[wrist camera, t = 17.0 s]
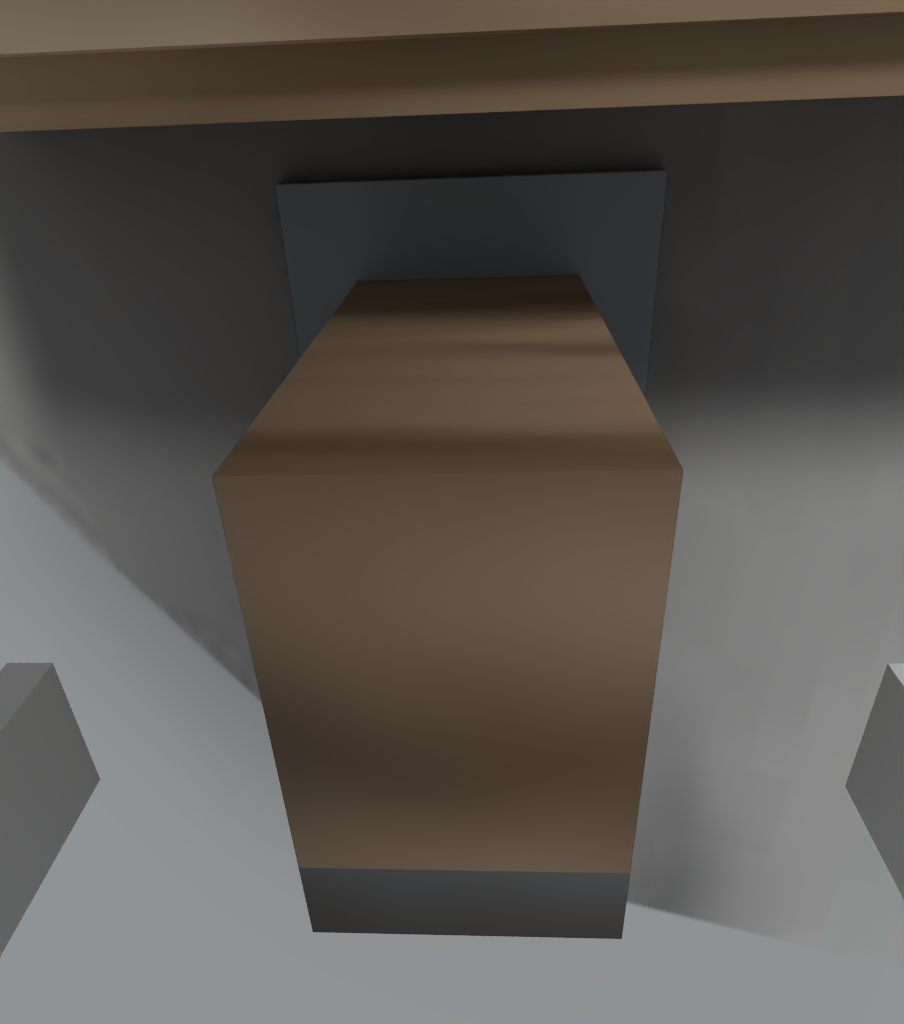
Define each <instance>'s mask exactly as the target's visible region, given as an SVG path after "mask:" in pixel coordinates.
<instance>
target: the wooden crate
mask: <svg viewBox="0 0 904 1024" xmlns="http://www.w3.org/2000/svg"><path fill="white" fill-rule="evenodd" d="M451 36H452V37H451ZM901 95H904V0H0V132H18V131H43V130H67V129H92V128H116V127H141V126H165V125H190V124H214V123H239V122H263V121H288V120H312V119H337V118H361V117H386V116H410V115H435V114H459V113H484V112H508V111H533V110H557V109H582V108H606V107H631V106H656V105H680V104H705V103H729V102H754V101H778V100H803V99H827V98H852V97H876V96H901Z"/></svg>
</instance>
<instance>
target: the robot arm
mask: <svg viewBox="0 0 904 1024" xmlns="http://www.w3.org/2000/svg"><path fill="white" fill-rule="evenodd" d="M99 780H100V778H99V775H98V773H97V770H96V768H95V766H94V763H93V761H92V759H91V756H90V753H89V751H88V748H87V746H86V744H85V741H84V739H83V736H82V734H81V731H80V729H79V726H78V724H77V722H76V719H75V717H74V714H73V712H72V709H71V707H70V704H69V702H68V700H67V697H66V695H65V692H64V690H63V687H62V685H61V683H60V680H59V678H58V675H57V673H56V670H55V668H54V666H53V663H7V664H6V665H5V666H4V667H3V669H2V670H1V671H0V956H1V954H2V952H3V951H4V949H5V947H6V945H7V943H8V942H9V940H10V938H11V936H12V935H13V933H14V931H15V929H16V927H17V926H18V924H19V922H20V920H21V919H22V917H23V915H24V913H25V912H26V910H27V908H28V906H29V905H30V903H31V901H32V899H33V897H34V896H35V894H36V892H37V890H38V888H39V887H40V885H41V883H42V881H43V880H44V878H45V876H46V874H47V873H48V871H49V869H50V867H51V866H52V864H53V862H54V860H55V858H56V857H57V855H58V853H59V851H60V850H61V848H62V846H63V844H64V842H65V841H66V839H67V837H68V835H69V834H70V832H71V830H72V828H73V826H74V825H75V823H76V821H77V819H78V817H79V816H80V814H81V812H82V811H83V809H84V807H85V805H86V803H87V802H88V800H89V798H90V796H91V794H92V793H93V791H94V789H95V787H96V786H97V784H98V782H99ZM846 788H847V790H848V792H849V794H850V796H851V798H852V800H853V802H854V804H855V806H856V808H857V810H858V812H859V814H860V815H861V817H862V819H863V821H864V823H865V825H866V827H867V829H868V831H869V833H870V835H871V837H872V839H873V841H874V842H875V844H876V846H877V848H878V850H879V852H880V854H881V856H882V858H883V860H884V862H885V864H886V866H887V868H888V870H889V871H890V873H891V875H892V877H893V879H894V881H895V883H896V885H897V887H898V889H899V891H900V893H901V895H902V897H903V899H904V664H887V667H886V670H885V673H884V676H883V679H882V682H881V685H880V688H879V690H878V693H877V696H876V699H875V702H874V705H873V708H872V711H871V714H870V716H869V719H868V722H867V725H866V728H865V731H864V734H863V737H862V740H861V742H860V745H859V748H858V751H857V754H856V757H855V760H854V763H853V766H852V768H851V771H850V774H849V777H848V780H847V783H846Z"/></svg>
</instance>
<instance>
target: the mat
mask: <svg viewBox="0 0 904 1024" xmlns="http://www.w3.org/2000/svg"><path fill="white" fill-rule="evenodd" d="M667 173H668V171H667V170H664V169H657V170H629V171H601V172H573V173H546V174H518V175H490V176H462V177H434V178H406V179H379V180H351V181H323V182H295V183H279V184H276V185H275V187H276V194H277V201H278V208H279V215H280V222H281V229H282V236H283V243H284V250H285V258H286V265H287V272H288V279H289V286H290V293H291V300H292V307H293V314H294V321H295V328H296V335H297V342H298V349H299V356H300V358H301V356H302V355H303V354H304V352H305V351H306V350H307V348H308V347H309V346H310V344H311V343H312V342H313V340H314V339H315V338H316V336H317V335H318V334H319V332H320V331H321V330H322V328H323V327H324V325H325V324H326V323H327V321H328V320H329V319H330V317H331V316H332V315H333V313H334V312H335V311H336V309H337V308H338V307H339V305H340V304H341V303H342V301H343V300H344V299H345V297H346V296H347V295H348V293H349V292H350V291H351V289H352V288H353V287H354V285H355V284H356V283H357V281H370V280H404V279H438V278H472V277H506V276H541V275H575V274H579V276H580V278H581V280H582V281H583V283H584V285H585V287H586V289H587V291H588V293H589V295H590V296H591V298H592V300H593V302H594V304H595V306H596V308H597V309H598V311H599V313H600V315H601V317H602V319H603V321H604V323H605V324H606V326H607V328H608V330H609V332H610V334H611V336H612V338H613V339H614V341H615V343H616V345H617V347H618V349H619V351H620V352H621V354H622V356H623V358H624V360H625V362H626V364H627V366H628V367H629V369H630V371H631V373H632V375H633V377H634V379H635V381H636V382H637V384H638V386H639V388H640V390H641V392H642V394H643V395H644V397H645V395H646V385H647V375H648V365H649V354H650V344H651V334H652V324H653V314H654V304H655V294H656V284H657V274H658V264H659V254H660V243H661V233H662V223H663V213H664V203H665V193H666V183H667Z"/></svg>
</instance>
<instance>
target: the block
mask: <svg viewBox="0 0 904 1024" xmlns="http://www.w3.org/2000/svg"><path fill="white" fill-rule="evenodd" d="M682 476H683V468H682V467H681V465H680V463H679V461H678V459H677V457H676V455H675V453H674V452H673V450H672V448H671V446H670V444H669V442H668V440H667V439H666V437H665V435H664V433H663V431H662V429H661V427H660V425H659V424H658V422H657V420H656V418H655V416H654V414H653V412H652V410H651V409H650V407H649V405H648V403H647V401H646V399H645V397H644V395H643V394H642V392H641V390H640V388H639V386H638V384H637V382H636V381H635V379H634V377H633V375H632V373H631V371H630V369H629V367H628V366H627V364H626V362H625V360H624V358H623V356H622V354H621V352H620V351H619V349H618V347H617V345H616V343H615V341H614V339H613V338H612V336H611V334H610V332H609V330H608V328H607V326H606V324H605V323H604V321H603V319H602V317H601V315H600V313H599V311H598V309H597V308H596V306H595V304H594V302H593V300H592V298H591V296H590V295H589V293H588V291H587V289H586V287H585V285H584V283H583V281H582V280H581V278H580V276H579V274H575V275H541V276H506V277H472V278H438V279H404V280H370V281H357V283H356V284H355V285H354V287H353V288H352V289H351V291H350V292H349V293H348V295H347V296H346V297H345V299H344V300H343V301H342V303H341V304H340V305H339V307H338V308H337V309H336V311H335V312H334V313H333V315H332V316H331V317H330V319H329V320H328V321H327V323H326V324H325V325H324V327H323V328H322V330H321V331H320V332H319V334H318V335H317V336H316V338H315V339H314V340H313V342H312V343H311V344H310V346H309V347H308V348H307V350H306V351H305V352H304V354H303V355H302V356H301V358H300V359H299V360H298V362H297V363H296V364H295V366H294V367H293V368H292V370H291V371H290V372H289V374H288V375H287V377H286V378H285V379H284V381H283V382H282V383H281V385H280V386H279V387H278V389H277V390H276V391H275V393H274V394H273V395H272V397H271V398H270V399H269V401H268V402H267V403H266V405H265V406H264V407H263V409H262V410H261V411H260V413H259V414H258V415H257V417H256V418H255V419H254V421H253V422H252V424H251V425H250V426H249V428H248V429H247V430H246V432H245V433H244V434H243V436H242V437H241V438H240V440H239V441H238V442H237V444H236V445H235V446H234V448H233V449H232V450H231V452H230V453H229V454H228V456H227V457H226V458H225V460H224V461H223V462H222V464H221V465H220V466H219V468H218V469H217V471H216V472H215V473H214V475H213V476H212V479H213V483H214V488H215V492H216V497H217V501H218V506H219V510H220V515H221V519H222V524H223V528H224V533H225V537H226V542H227V546H228V551H229V555H230V560H231V564H232V569H233V573H234V578H235V583H236V587H237V592H238V596H239V601H240V605H241V610H242V614H243V619H244V623H245V628H246V632H247V637H248V641H249V646H250V650H251V655H252V659H253V664H254V668H255V673H256V677H257V682H258V686H259V691H260V695H261V700H262V704H263V709H264V713H265V718H266V722H267V727H268V731H269V735H270V740H271V745H272V749H273V754H274V758H275V762H276V767H277V772H278V776H279V781H280V785H281V790H282V794H283V799H284V803H285V808H286V812H287V817H288V821H289V826H290V830H291V835H292V839H293V844H294V848H295V853H296V857H297V862H298V867H299V871H300V876H301V880H302V884H303V889H304V893H305V898H306V903H307V907H308V911H309V916H310V920H311V925H312V929H313V932H337V933H381V934H382V933H384V934H428V935H472V936H475V935H476V936H518V937H519V936H520V937H521V936H522V937H564V938H611V939H613V938H614V939H621V938H622V931H623V924H624V916H625V908H626V901H627V893H628V886H629V878H630V871H631V863H632V855H633V848H634V840H635V833H636V825H637V818H638V810H639V802H640V795H641V787H642V780H643V772H644V764H645V757H646V749H647V742H648V734H649V727H650V719H651V711H652V704H653V696H654V689H655V681H656V673H657V666H658V658H659V651H660V643H661V635H662V628H663V620H664V613H665V605H666V598H667V590H668V582H669V575H670V567H671V560H672V552H673V544H674V537H675V529H676V522H677V514H678V506H679V499H680V491H681V484H682Z"/></svg>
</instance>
